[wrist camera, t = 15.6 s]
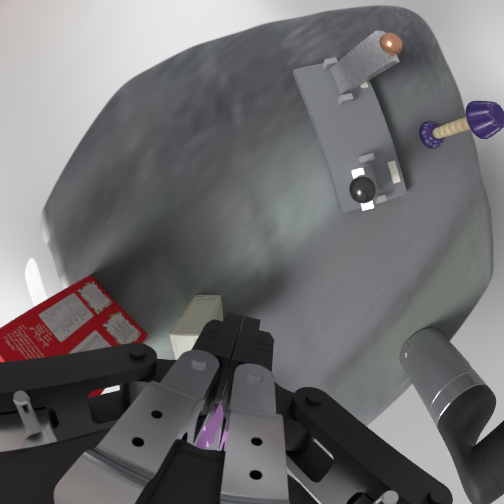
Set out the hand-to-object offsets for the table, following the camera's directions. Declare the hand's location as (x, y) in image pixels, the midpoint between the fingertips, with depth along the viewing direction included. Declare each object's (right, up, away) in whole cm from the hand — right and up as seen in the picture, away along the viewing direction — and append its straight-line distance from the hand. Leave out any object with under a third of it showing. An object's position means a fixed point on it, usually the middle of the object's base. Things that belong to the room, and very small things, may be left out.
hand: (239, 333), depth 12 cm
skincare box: (-6, -6, +32) cm, 33 cm away
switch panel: (+14, +20, +23) cm, 34 cm away
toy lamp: (+28, +22, +22) cm, 42 cm away
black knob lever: (+16, +13, +22) cm, 31 cm away
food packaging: (-25, -7, +34) cm, 42 cm away
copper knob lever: (+12, +26, +19) cm, 35 cm away
